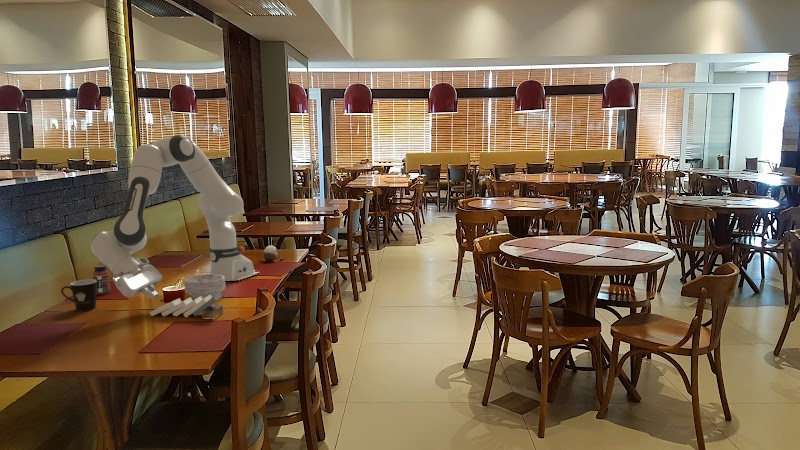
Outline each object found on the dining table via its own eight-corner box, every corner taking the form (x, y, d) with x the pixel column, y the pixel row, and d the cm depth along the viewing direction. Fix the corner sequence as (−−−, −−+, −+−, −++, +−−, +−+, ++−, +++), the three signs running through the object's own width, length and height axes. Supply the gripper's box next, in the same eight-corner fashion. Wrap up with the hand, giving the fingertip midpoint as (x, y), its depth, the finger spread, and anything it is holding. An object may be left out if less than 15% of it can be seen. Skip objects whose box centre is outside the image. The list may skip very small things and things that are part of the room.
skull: (260, 255, 307) (273, 241, 306) (276, 269, 308) (288, 254, 306) (253, 259, 296) (267, 244, 294) (269, 273, 296) (282, 258, 295)
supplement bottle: (104, 295, 240) (101, 267, 238) (91, 294, 241) (88, 267, 239) (113, 291, 246) (111, 264, 244) (101, 290, 247) (98, 264, 245)
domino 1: (149, 312, 211) (172, 301, 209) (157, 308, 216) (179, 297, 214) (151, 316, 212) (174, 305, 210) (159, 312, 216) (181, 301, 214)
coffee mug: (104, 306, 225) (101, 280, 223) (85, 312, 217) (83, 286, 215) (80, 303, 229) (77, 278, 227) (61, 310, 221) (58, 283, 219)
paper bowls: (214, 290, 246) (213, 271, 244) (233, 297, 235) (231, 277, 234) (178, 297, 235) (177, 278, 234) (196, 305, 224) (195, 284, 223)
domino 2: (161, 313, 211) (183, 301, 209) (168, 308, 216) (190, 297, 214) (163, 316, 211) (185, 305, 209) (170, 312, 216) (192, 301, 214)
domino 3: (172, 313, 210) (194, 299, 208) (179, 309, 215) (201, 296, 213) (174, 317, 210) (196, 303, 208) (182, 313, 215) (203, 299, 213)
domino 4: (183, 314, 209) (203, 298, 207) (190, 309, 214) (210, 294, 212) (185, 317, 210) (206, 302, 207) (192, 313, 214) (213, 298, 212)
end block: (202, 319, 207) (201, 311, 207) (212, 312, 215) (212, 304, 214) (213, 320, 206) (212, 311, 206) (223, 313, 214) (222, 305, 214)
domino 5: (192, 312, 209) (213, 296, 207) (199, 308, 214) (219, 293, 212) (195, 316, 209) (216, 300, 207) (202, 312, 214) (222, 296, 212)
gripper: (115, 270, 202) (144, 299, 202) (149, 257, 222) (175, 283, 222) (104, 283, 203) (133, 311, 203) (139, 269, 223) (165, 295, 223)
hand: (155, 297), depth 213 cm, fingers closed
